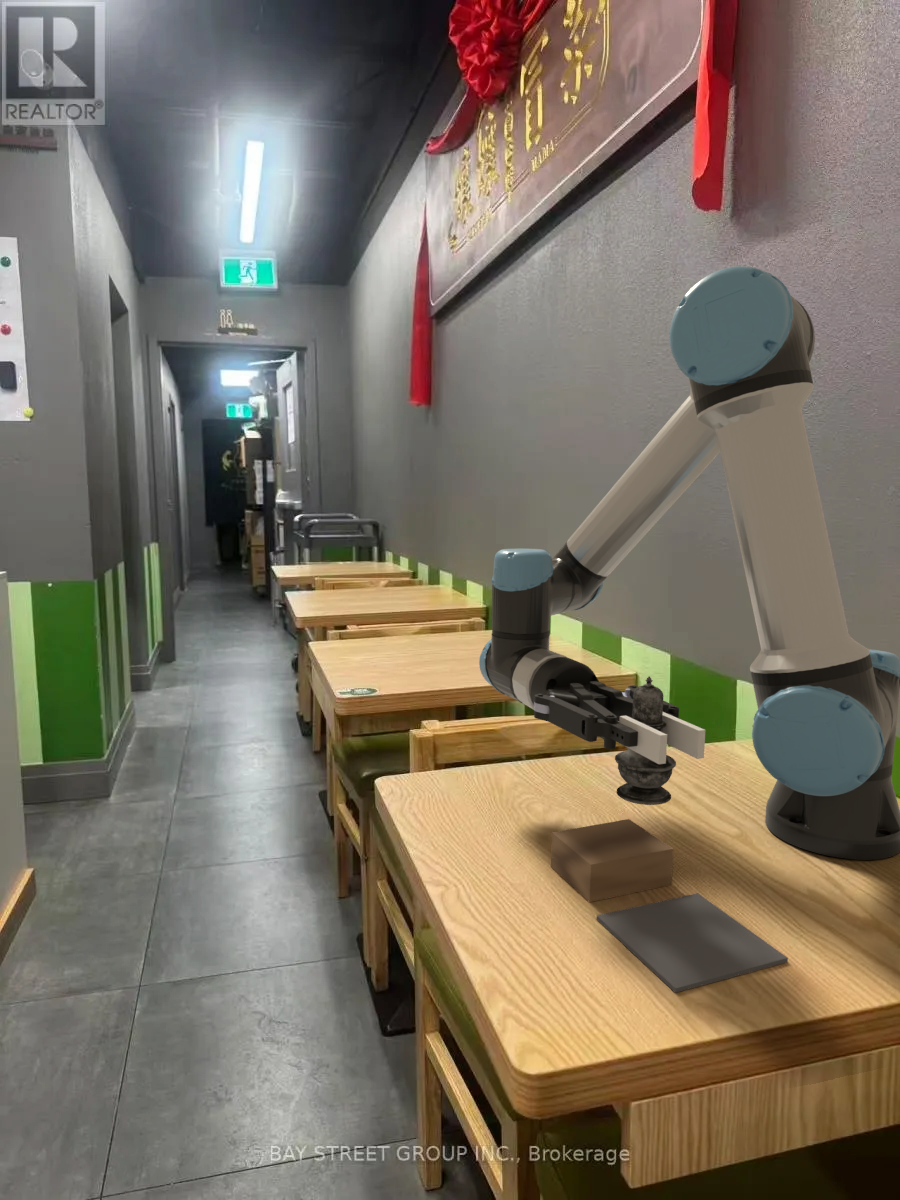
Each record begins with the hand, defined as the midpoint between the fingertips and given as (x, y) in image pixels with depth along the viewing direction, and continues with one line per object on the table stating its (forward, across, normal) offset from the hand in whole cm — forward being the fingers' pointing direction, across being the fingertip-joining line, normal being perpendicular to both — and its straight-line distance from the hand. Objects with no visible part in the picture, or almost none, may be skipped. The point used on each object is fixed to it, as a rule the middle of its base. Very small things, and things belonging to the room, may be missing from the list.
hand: (682, 746), depth 72 cm
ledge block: (-11, 0, -18) cm, 21 cm away
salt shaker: (-5, 0, -7) cm, 9 cm away
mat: (+2, 0, -18) cm, 18 cm away
